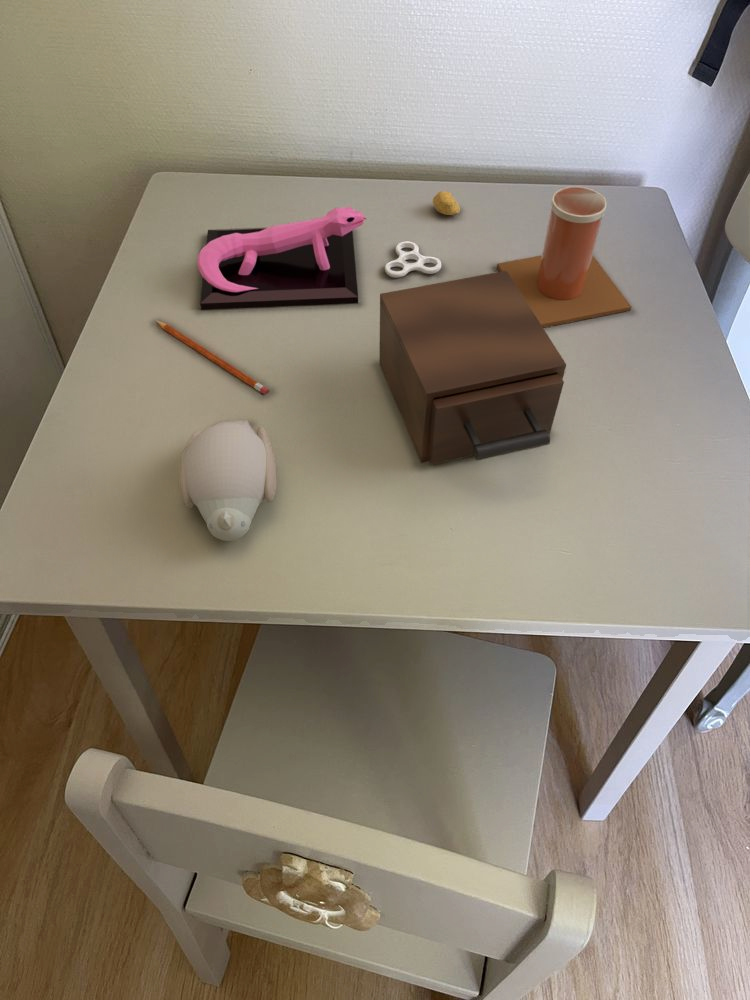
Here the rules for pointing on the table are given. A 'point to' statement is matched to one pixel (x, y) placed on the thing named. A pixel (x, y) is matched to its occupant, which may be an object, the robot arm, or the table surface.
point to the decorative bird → (228, 476)
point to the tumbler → (570, 242)
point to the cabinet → (458, 344)
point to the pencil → (214, 358)
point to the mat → (589, 304)
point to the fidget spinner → (411, 266)
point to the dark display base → (281, 264)
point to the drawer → (494, 419)
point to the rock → (446, 203)
